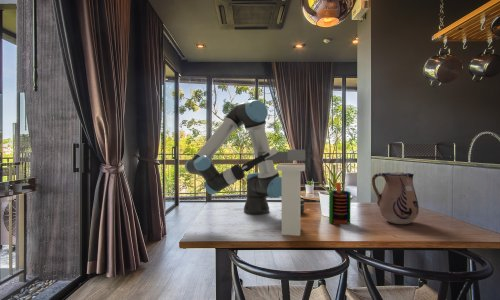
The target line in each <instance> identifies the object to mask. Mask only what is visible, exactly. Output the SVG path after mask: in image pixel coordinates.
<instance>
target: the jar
mask: <svg viewBox="0 0 500 300" xmlns="http://www.w3.org/2000/svg"><path fill="white" fill-rule="evenodd" d="M304 212H305V199H302V198H301V215H303V214H304Z"/></svg>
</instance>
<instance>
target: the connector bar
mask: <svg viewBox="0 0 500 300" xmlns="http://www.w3.org/2000/svg"><path fill="white" fill-rule="evenodd" d="M264 153H266V152H258V156H260V155H262V154H264ZM262 156H263V155H262ZM265 160H273V161H296V162H297V161H298V162H299V161H301V162H303V161H304V162H305V161H306V149H287V151H278V152H277V153H276V154H274V155H272V156H271V157H269V158H267V159H265Z"/></svg>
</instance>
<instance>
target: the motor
mask: <svg viewBox="0 0 500 300" xmlns="http://www.w3.org/2000/svg"><path fill="white" fill-rule="evenodd" d="M341 186H342V185H341V183H340V182H334V187H335V188H336V190H329V192H328V193H329V196H328V197H329V198H328V201H329V203H328V204H329V205H328V207H329V209H328V210H329V211H328V215H329V216H328V219H329V220H328V223H329V224H331V225H337V226H346V225H348V224H349V225H350V224H351V200H352V199H351V192H350V191H347V190H342V187H341Z"/></svg>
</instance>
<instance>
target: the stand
mask: <svg viewBox="0 0 500 300" xmlns="http://www.w3.org/2000/svg"><path fill="white" fill-rule="evenodd" d="M275 169H276V171H278V172H281V177H282V195H281V236H299V237H300V236H301V230H302V229H301V226H302V225H301V222H302V221H301V218H302V216H301V215H302V214H301V199H302V198H301V191H302V190H301V186H302V183H301V182H302V181H301V172H305V171H306V163H304V162H303V163H301V162H300V163H298V162H297V163H295V162H293V163H292V162H290V163H289V162H288V163H285V162H283V163H282V162H281V163H278V164H277V165H276V167H275Z"/></svg>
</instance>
